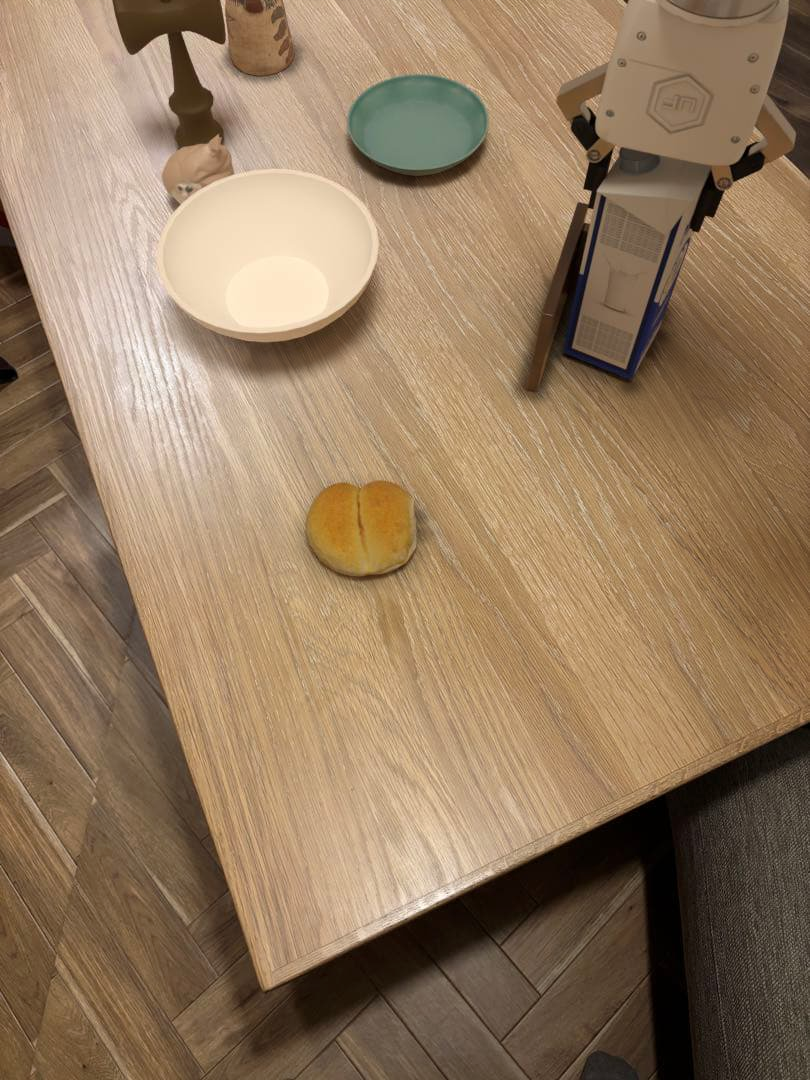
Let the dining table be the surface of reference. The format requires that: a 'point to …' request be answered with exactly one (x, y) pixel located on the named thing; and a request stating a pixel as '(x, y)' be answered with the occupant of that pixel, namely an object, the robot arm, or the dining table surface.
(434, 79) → the saucer
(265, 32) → the figurine
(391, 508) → the bread roll
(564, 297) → the shelf
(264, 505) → the dining table surface
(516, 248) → the dining table surface
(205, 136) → the kendama
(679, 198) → the milk carton
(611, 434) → the dining table surface
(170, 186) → the garlic bulb
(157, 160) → the dining table surface
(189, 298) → the bowl
